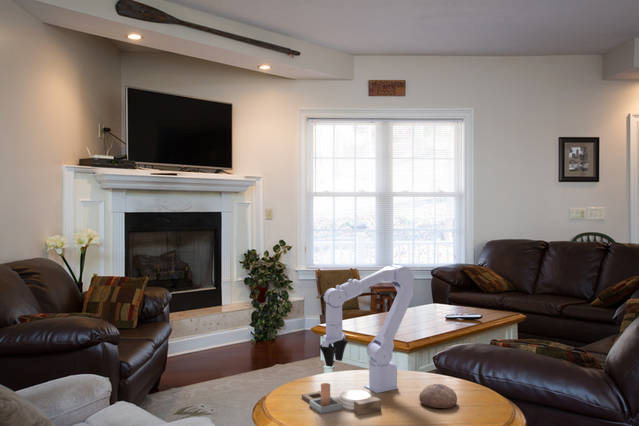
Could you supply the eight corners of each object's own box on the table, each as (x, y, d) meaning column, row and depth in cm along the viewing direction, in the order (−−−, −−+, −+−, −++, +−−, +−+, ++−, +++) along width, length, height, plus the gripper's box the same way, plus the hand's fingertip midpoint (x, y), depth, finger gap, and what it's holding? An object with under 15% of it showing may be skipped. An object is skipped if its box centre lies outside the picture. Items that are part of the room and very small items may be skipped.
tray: (330, 402, 175) (330, 396, 175) (342, 410, 168) (342, 403, 168) (309, 406, 171) (309, 400, 171) (320, 414, 165) (320, 408, 165)
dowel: (323, 404, 172) (323, 382, 172) (332, 405, 170) (331, 383, 170) (319, 407, 169) (319, 385, 169) (327, 409, 168) (327, 386, 168)
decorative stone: (443, 411, 165) (442, 393, 165) (412, 402, 174) (411, 385, 174) (464, 401, 173) (463, 384, 173) (433, 393, 182) (432, 377, 182)
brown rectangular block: (375, 407, 170) (375, 396, 170) (381, 411, 167) (381, 399, 167) (354, 412, 166) (354, 401, 166) (359, 415, 164) (359, 404, 164)
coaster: (376, 403, 174) (376, 392, 174) (361, 413, 166) (361, 402, 166) (349, 397, 180) (349, 387, 180) (334, 407, 172) (333, 396, 172)
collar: (320, 394, 183) (320, 391, 182) (330, 401, 176) (330, 397, 176) (301, 398, 179) (301, 394, 179) (311, 404, 173) (311, 401, 173)
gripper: (332, 318, 193) (332, 356, 193) (314, 326, 180) (314, 367, 180) (350, 320, 190) (350, 358, 190) (333, 328, 177) (333, 369, 177)
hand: (334, 363), depth 185 cm, fingers open, 7 cm apart
